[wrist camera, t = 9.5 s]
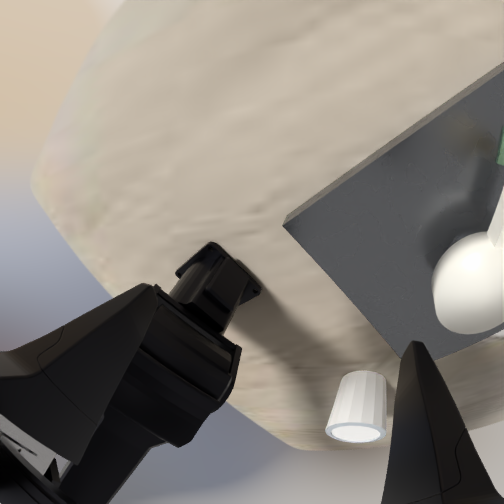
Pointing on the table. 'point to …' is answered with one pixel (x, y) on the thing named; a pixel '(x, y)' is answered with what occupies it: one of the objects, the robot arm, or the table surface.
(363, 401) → the shot glass
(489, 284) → the beige rounded piece
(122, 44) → the table surface
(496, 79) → the base
